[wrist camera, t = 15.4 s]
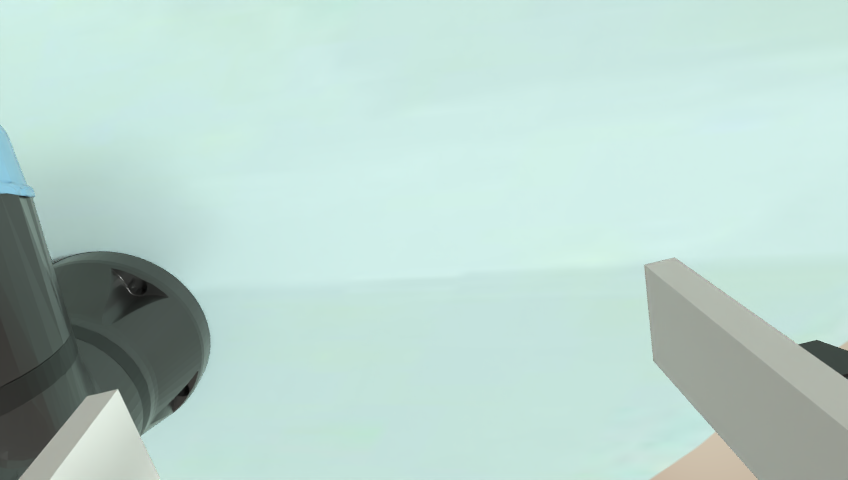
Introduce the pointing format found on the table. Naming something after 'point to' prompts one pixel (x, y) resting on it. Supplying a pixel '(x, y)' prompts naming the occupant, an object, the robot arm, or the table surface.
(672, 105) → the table surface
